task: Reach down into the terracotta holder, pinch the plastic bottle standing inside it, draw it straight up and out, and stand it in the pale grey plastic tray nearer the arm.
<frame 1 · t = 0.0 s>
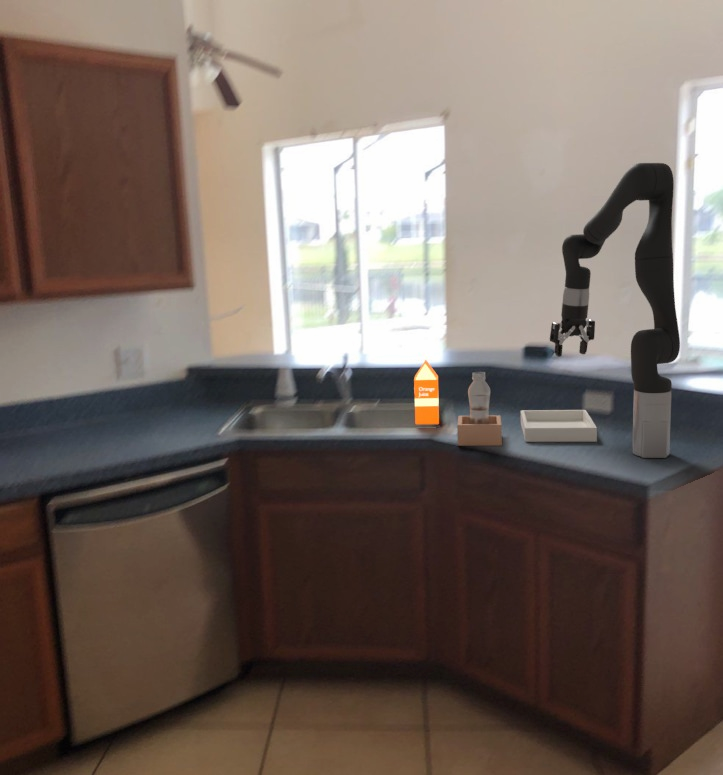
hand: (570, 354, 234), 22 cm above the worktop, tool pointing down, fingers open, 8 cm apart
orange juice: (427, 421, 253), on the worktop
plastic bottle: (479, 440, 226), resting in terracotta holder
plastic tray: (556, 431, 232), on the worktop
terracotta holder: (479, 440, 226), on the worktop
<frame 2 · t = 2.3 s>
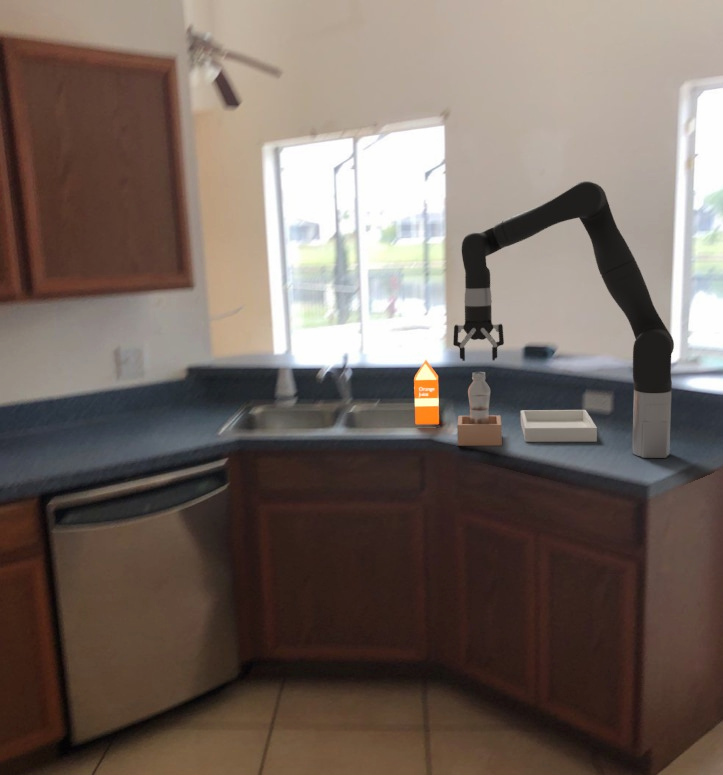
hand: (478, 360, 222), 24 cm above the worktop, tool pointing down, fingers open, 8 cm apart
nothing on the worktop moved.
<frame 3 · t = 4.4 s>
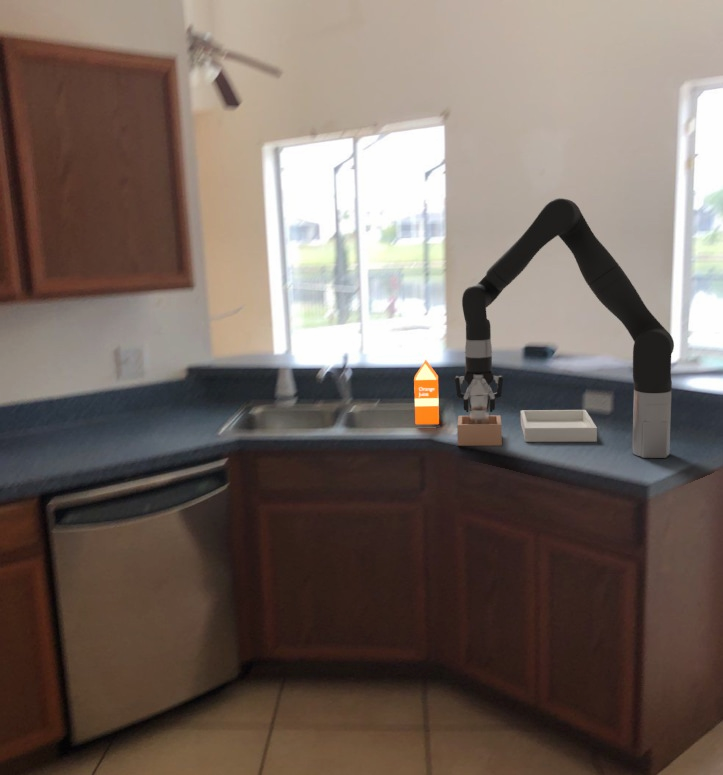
hand: (479, 411, 224), 9 cm above the worktop, tool pointing down, fingers closed on plastic bottle, 6 cm apart
plastic bottle: (479, 440, 226), resting in terracotta holder, touching gripper
everything else where it was.
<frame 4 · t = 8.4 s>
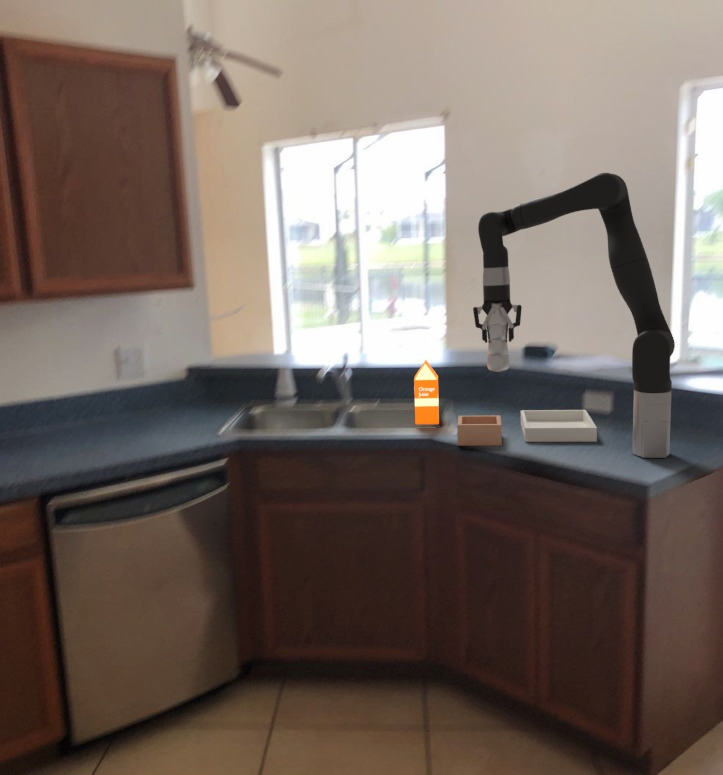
hand: (498, 341, 222), 29 cm above the worktop, tool pointing down, fingers closed on plastic bottle, 6 cm apart
plastic bottle: (498, 371, 223), point 20 cm above the worktop, touching gripper
everything else where it was.
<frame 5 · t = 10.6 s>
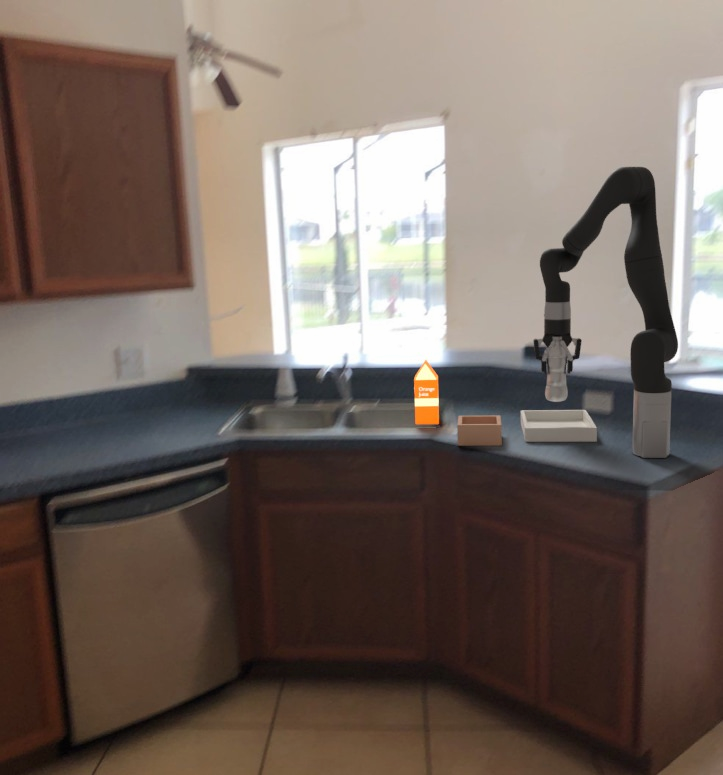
hand: (556, 373, 229), 18 cm above the worktop, tool pointing down, fingers closed on plastic bottle, 6 cm apart
plastic bottle: (556, 402, 231), point 9 cm above the worktop, touching gripper
everything else where it was.
when the fingers open (11 cm above the worktop, at t = 12.4 s): plastic bottle drops 1 cm, resting on plastic tray.
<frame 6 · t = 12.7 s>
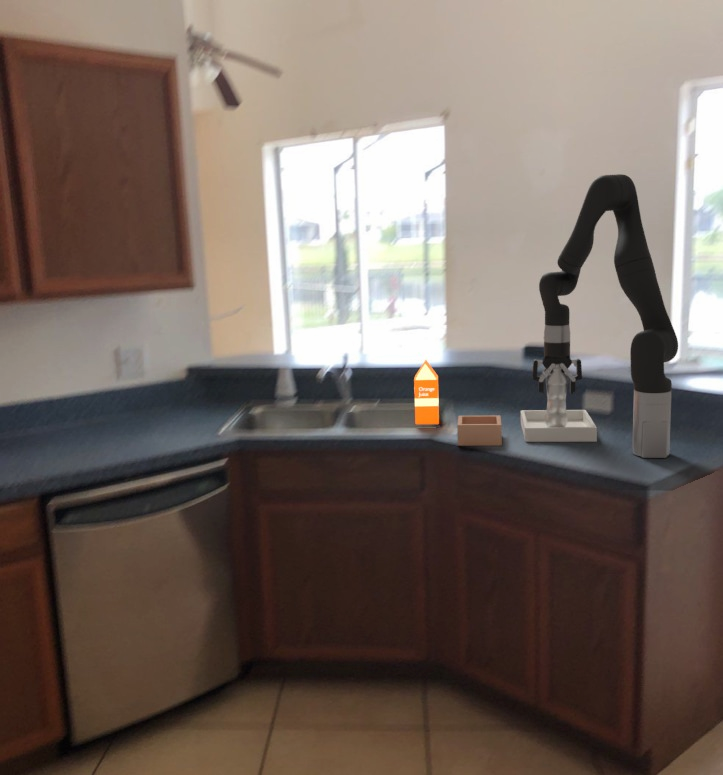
hand: (556, 393, 230), 12 cm above the worktop, tool pointing down, fingers open, 8 cm apart
plastic bottle: (556, 428, 232), point 1 cm above the worktop, touching plastic tray
everything else where it was.
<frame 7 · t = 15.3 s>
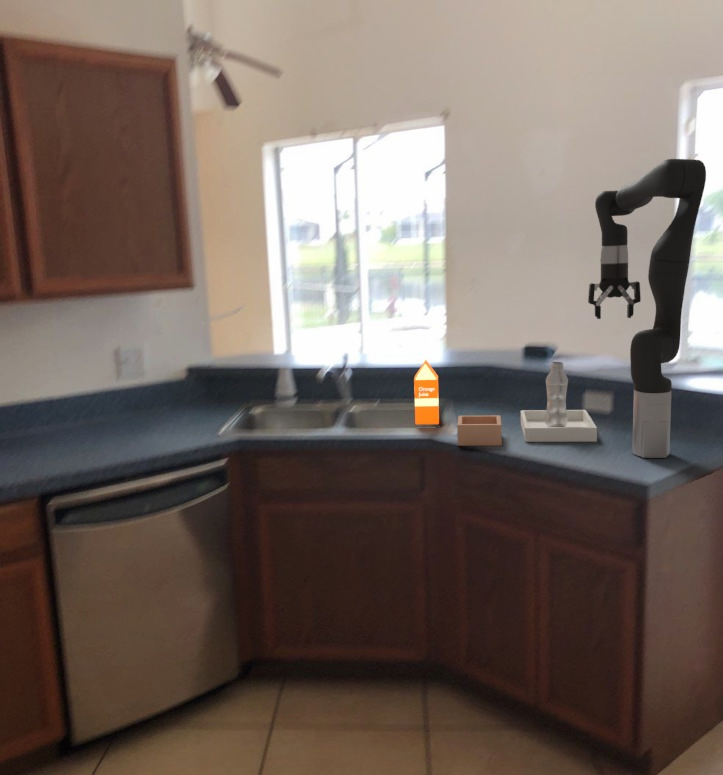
hand: (614, 318, 224), 34 cm above the worktop, tool pointing down, fingers open, 8 cm apart
nothing on the worktop moved.
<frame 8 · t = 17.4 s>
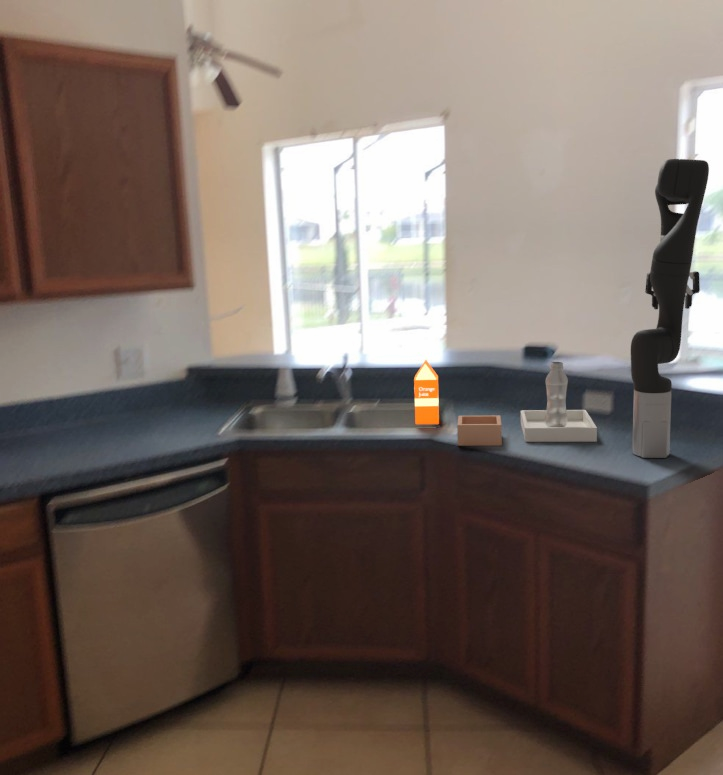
hand: (671, 308, 221), 36 cm above the worktop, tool pointing down, fingers open, 8 cm apart
nothing on the worktop moved.
at the end: plastic bottle inside the target area on the plastic tray (0.1 cm from its centre), point 0.8 cm above the plastic tray's base; plastic bottle tilted 0°; the gripper is holding nothing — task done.
